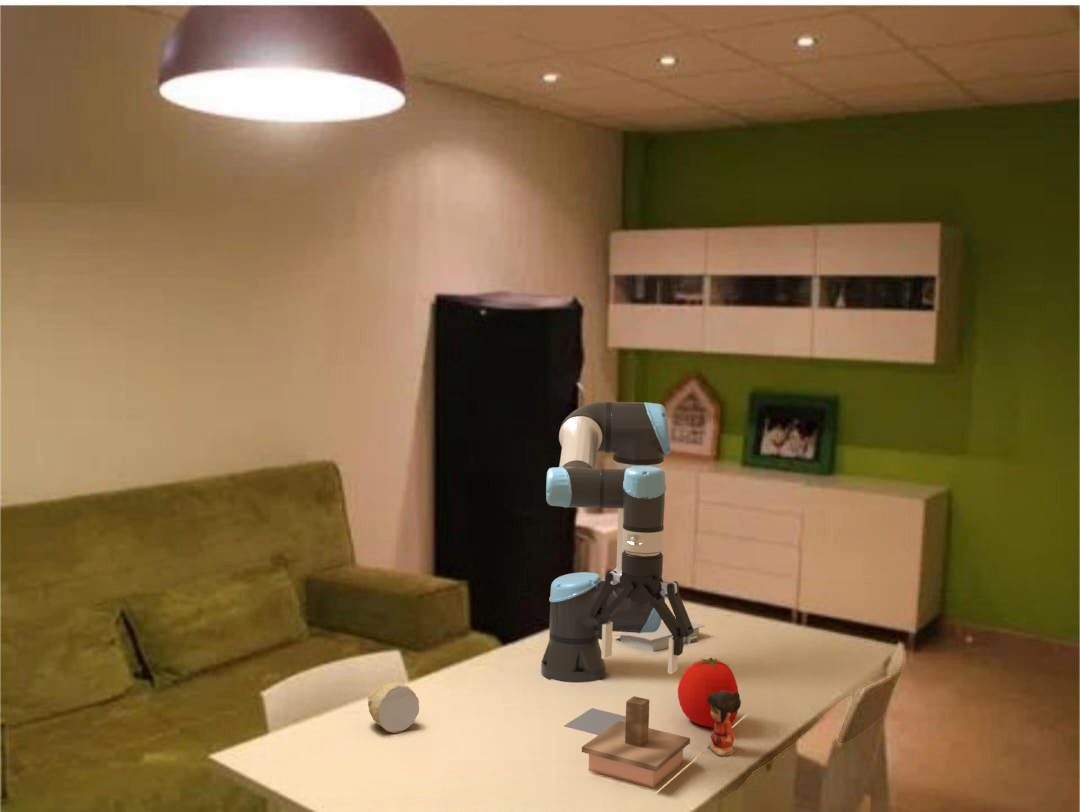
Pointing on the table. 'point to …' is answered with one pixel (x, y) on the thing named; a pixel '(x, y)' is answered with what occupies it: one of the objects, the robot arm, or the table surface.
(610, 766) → the dish
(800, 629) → the table surface
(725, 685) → the tomato
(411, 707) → the cream grey rounded piece
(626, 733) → the lid
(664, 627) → the book
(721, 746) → the figurine
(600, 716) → the mat
